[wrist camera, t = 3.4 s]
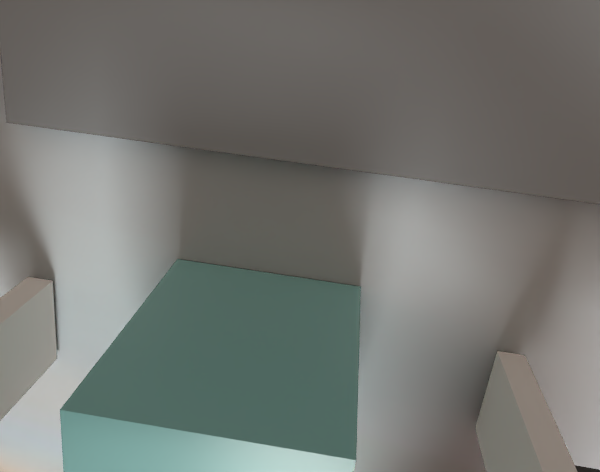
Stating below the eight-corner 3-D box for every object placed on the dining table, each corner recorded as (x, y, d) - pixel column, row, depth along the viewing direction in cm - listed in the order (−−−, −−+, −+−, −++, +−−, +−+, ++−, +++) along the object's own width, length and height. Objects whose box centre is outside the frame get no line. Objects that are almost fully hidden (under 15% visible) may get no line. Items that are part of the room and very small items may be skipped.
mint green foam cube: (172, 407, 18) (71, 610, 12) (177, 259, 16) (59, 410, 10) (335, 435, 18) (318, 658, 11) (360, 286, 16) (356, 460, 10)
